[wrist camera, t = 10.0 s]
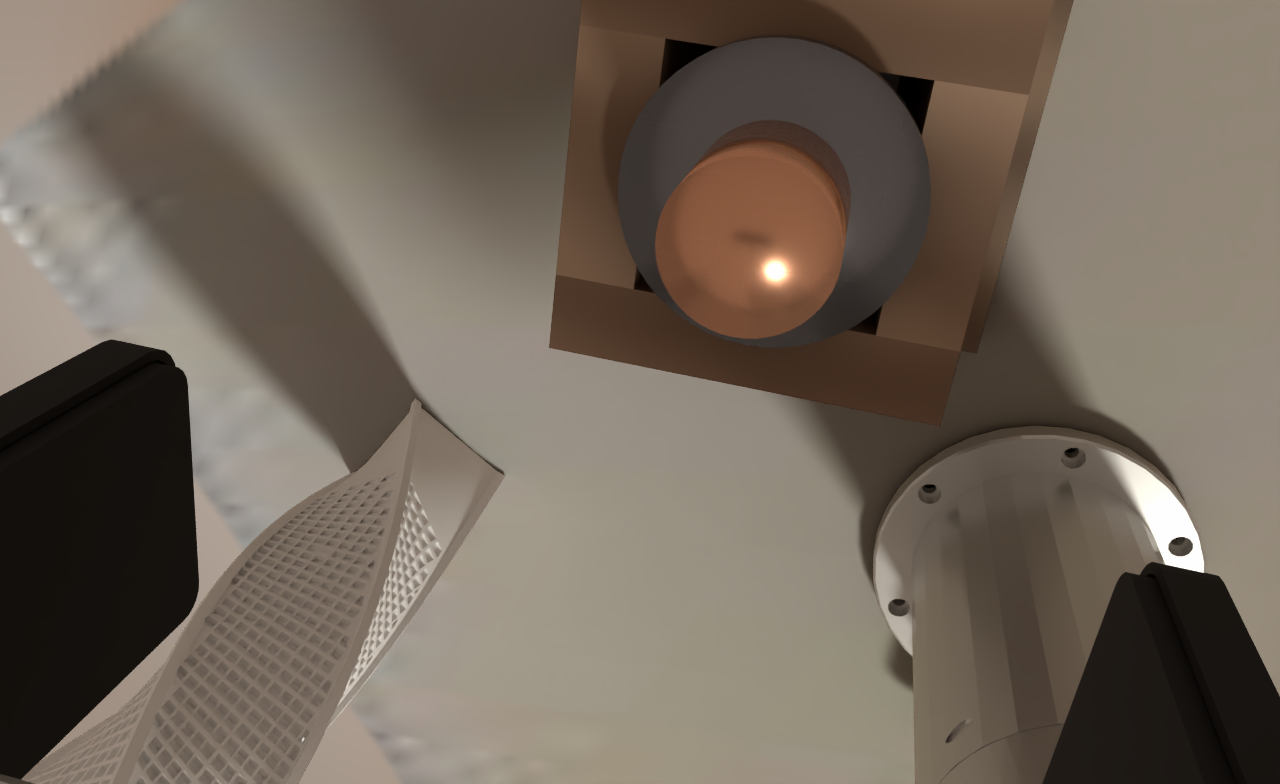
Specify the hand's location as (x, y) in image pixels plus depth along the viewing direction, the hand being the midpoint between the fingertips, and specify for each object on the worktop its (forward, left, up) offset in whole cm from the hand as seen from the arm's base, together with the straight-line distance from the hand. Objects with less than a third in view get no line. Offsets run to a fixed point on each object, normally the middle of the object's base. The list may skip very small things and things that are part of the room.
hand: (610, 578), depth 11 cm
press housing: (0, 0, -32) cm, 32 cm away
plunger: (0, 0, -29) cm, 29 cm away
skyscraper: (-19, +14, -32) cm, 40 cm away
